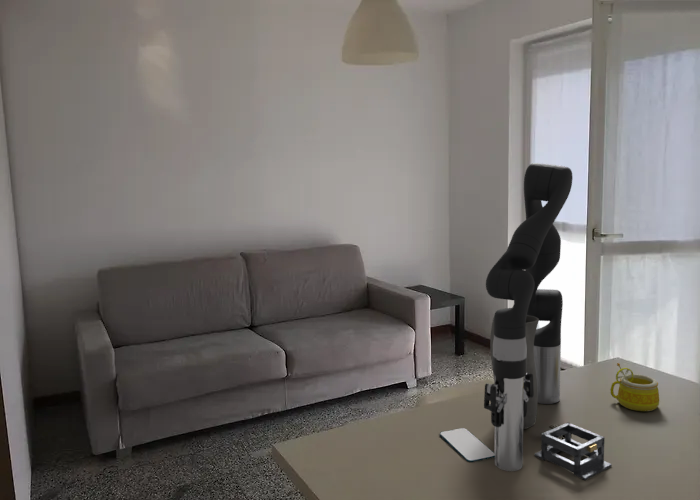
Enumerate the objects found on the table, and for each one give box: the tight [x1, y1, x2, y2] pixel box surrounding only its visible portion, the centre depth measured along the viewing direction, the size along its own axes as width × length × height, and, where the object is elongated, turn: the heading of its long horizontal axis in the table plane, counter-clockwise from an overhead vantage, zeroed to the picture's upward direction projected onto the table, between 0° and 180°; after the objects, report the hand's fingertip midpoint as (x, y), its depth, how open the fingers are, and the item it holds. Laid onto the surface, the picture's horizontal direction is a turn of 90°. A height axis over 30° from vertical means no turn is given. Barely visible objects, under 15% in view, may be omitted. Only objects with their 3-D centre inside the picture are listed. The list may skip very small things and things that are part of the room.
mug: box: [609, 362, 660, 412], centre depth 170 cm, size 13×11×12 cm
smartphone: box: [439, 427, 495, 463], centre depth 151 cm, size 8×1×16 cm
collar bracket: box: [533, 422, 613, 481], centre depth 141 cm, size 14×10×6 cm
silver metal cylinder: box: [494, 377, 524, 472], centre depth 139 cm, size 6×6×25 cm
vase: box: [489, 315, 539, 430], centre depth 159 cm, size 12×12×30 cm
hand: (509, 421), depth 139 cm, fingers open, 8 cm apart
